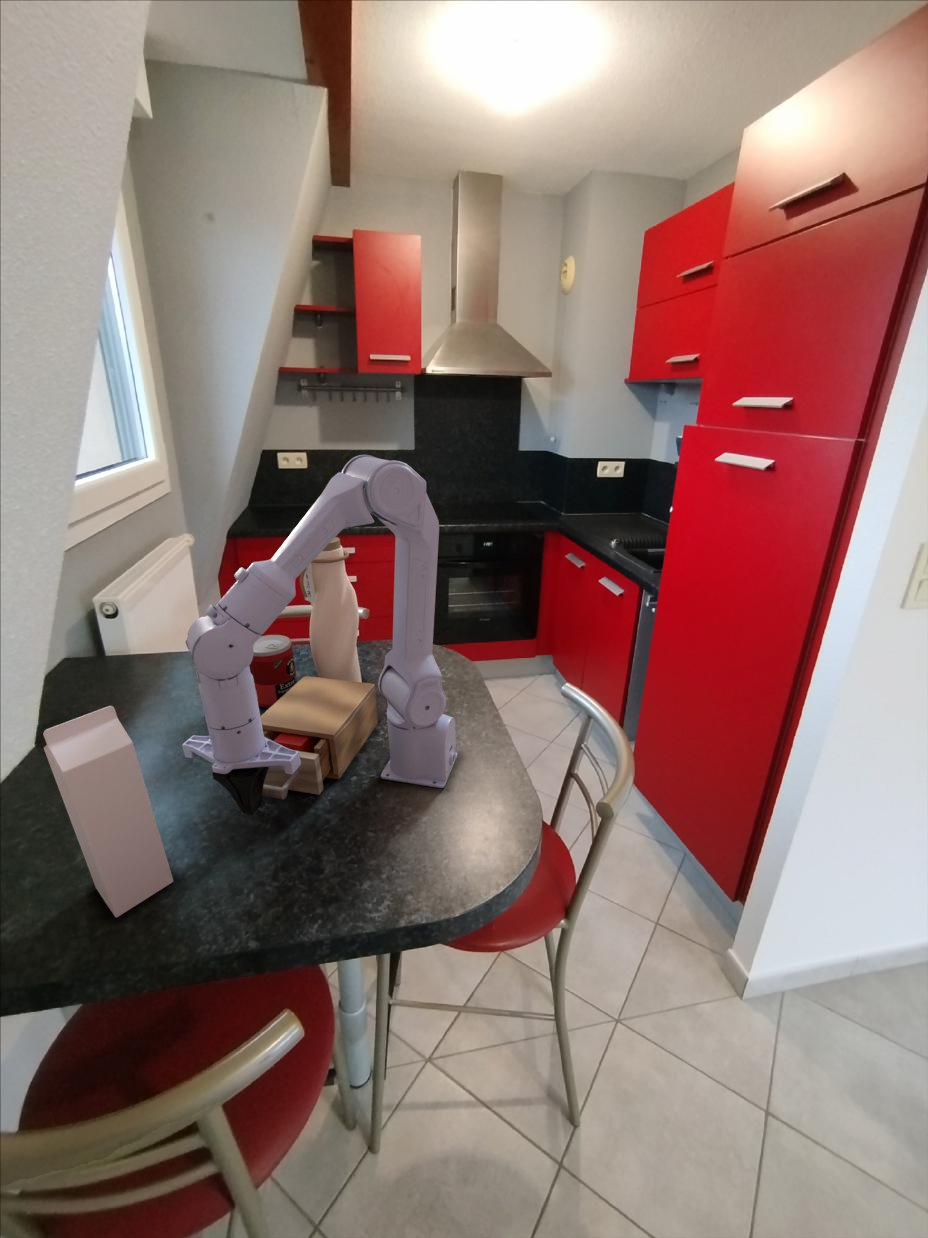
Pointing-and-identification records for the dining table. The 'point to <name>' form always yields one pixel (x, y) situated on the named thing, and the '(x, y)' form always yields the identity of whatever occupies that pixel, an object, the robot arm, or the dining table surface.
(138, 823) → the milk
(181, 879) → the dining table surface
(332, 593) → the water bottle
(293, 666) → the canned food
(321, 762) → the drawer
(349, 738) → the cabinet
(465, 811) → the dining table surface
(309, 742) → the block
